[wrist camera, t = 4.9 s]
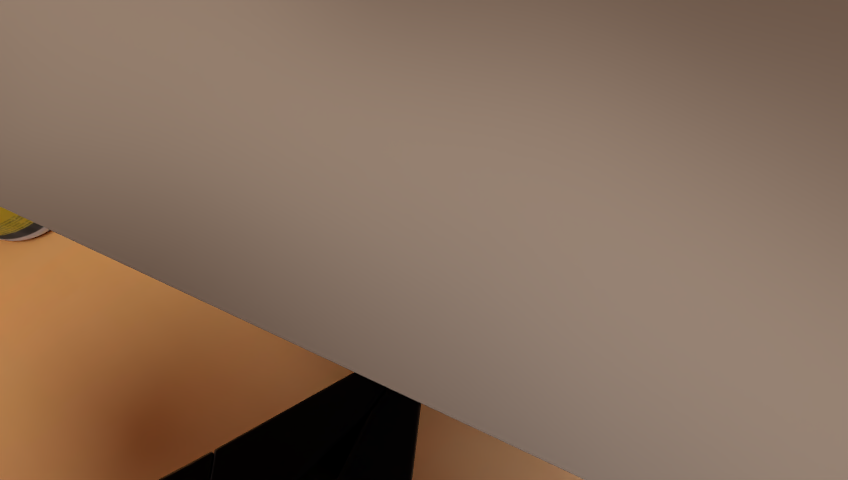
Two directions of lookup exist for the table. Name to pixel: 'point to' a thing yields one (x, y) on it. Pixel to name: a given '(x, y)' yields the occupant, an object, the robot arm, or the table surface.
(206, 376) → the table surface
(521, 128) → the walnut block
